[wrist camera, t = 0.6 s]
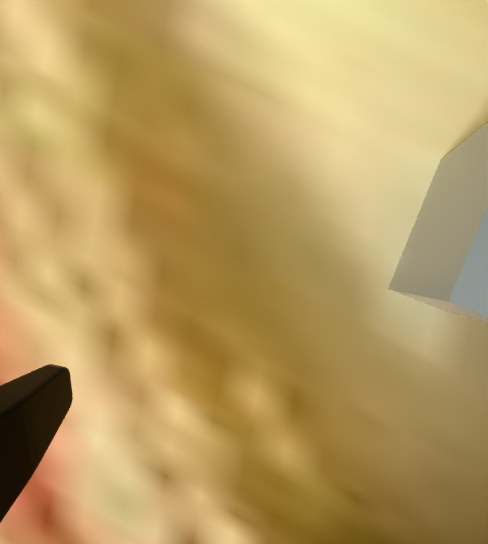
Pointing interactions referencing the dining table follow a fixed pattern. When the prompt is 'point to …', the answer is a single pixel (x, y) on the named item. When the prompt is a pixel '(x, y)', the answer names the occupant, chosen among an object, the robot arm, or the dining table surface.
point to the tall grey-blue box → (451, 236)
